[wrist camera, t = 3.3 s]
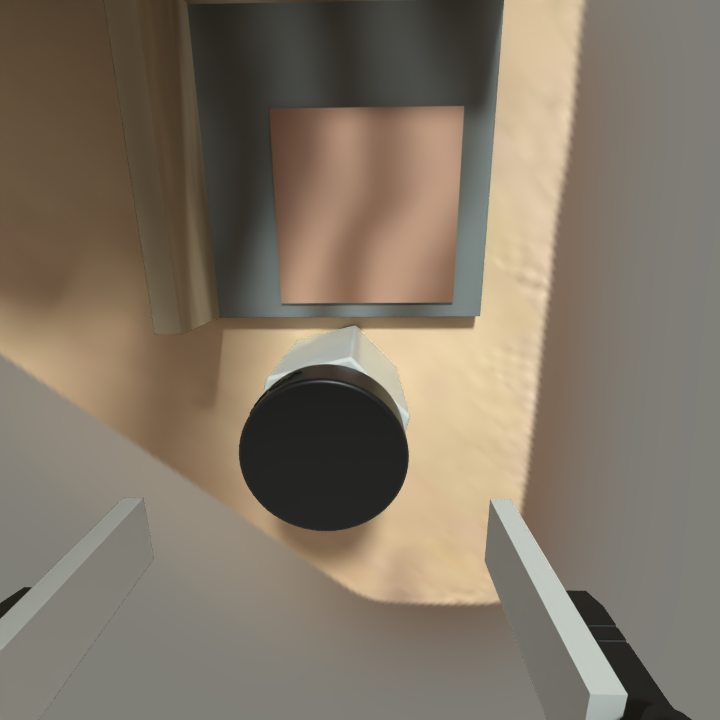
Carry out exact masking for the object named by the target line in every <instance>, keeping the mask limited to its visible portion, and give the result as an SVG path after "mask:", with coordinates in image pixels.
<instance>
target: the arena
mask: <svg viewBox="0 0 720 720" xmlns="http://www.w3.org/2000/svg"><path fill="white" fill-rule="evenodd" d="M104 6H105V13H106V19H107V26H108V32H109V39H110V45H111V52H112V58H113V65H114V71H115V78H116V85H117V91H118V98H119V104H120V111H121V117H122V124H123V130H124V137H125V143H126V150H127V157H128V163H129V170H130V176H131V183H132V189H133V196H134V202H135V209H136V215H137V222H138V229H139V235H140V242H141V248H142V255H143V261H144V268H145V274H146V281H147V287H148V294H149V300H150V307H151V314H152V320H153V327H154V333H155V334H183V333H185V332H188V331H190V330H192V329H195V328H197V327H199V326H201V325H204V324H206V323H208V322H211V321H213V320H215V319H218V318H220V317H410V316H480V309H481V296H482V283H483V270H484V257H485V244H486V231H487V218H488V205H489V191H490V178H491V165H492V152H493V139H494V126H495V113H496V100H497V87H498V74H499V61H500V48H501V35H502V21H503V8H504V0H104Z"/></svg>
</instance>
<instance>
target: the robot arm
mask: <svg viewBox="0 0 720 720" xmlns="http://www.w3.org/2000/svg"><path fill="white" fill-rule="evenodd" d="M153 559H154V557H153V551H152V545H151V540H150V534H149V528H148V523H147V516H146V511H145V506H144V500H143V498H123V499H122V500H121V501H120V502H119V503H118V504H117V505H116V506H115V507H114V508H113V509H112V510H111V511H110V512H109V513H108V514H107V515H106V516H105V517H104V518H103V519H101V520H100V522H98V523H97V524H96V525H95V526H94V528H92V529H91V530H90V531H89V532H88V533H87V534H86V535H85V536H84V537H83V538H82V539H81V540H80V541H79V542H78V543H77V544H76V545H75V546H74V547H73V548H72V549H71V550H70V551H69V552H68V553H67V554H66V555H65V556H64V557H63V558H62V559H61V560H60V561H59V562H58V563H57V564H56V565H55V566H54V567H53V568H52V569H51V570H50V571H49V572H48V573H47V574H46V575H45V576H44V577H43V578H42V579H41V580H39V581H38V582H37V583H36V584H35V585H34V586H33V587H31V588H30V587H28V588H27V587H26V588H25V587H24V588H23V589H21V590H19V591H18V592H16V593H15V594H14V595H12V596H10V597H9V598H7V599H6V600H4V601H3V602H1V603H0V720H39V719H40V718H41V717H42V715H43V714H44V712H45V711H46V710H47V708H48V707H49V705H50V704H51V702H52V701H53V700H54V698H55V697H56V695H57V694H58V693H59V691H60V690H61V688H62V687H63V686H64V684H65V683H66V681H67V680H68V678H69V677H70V676H71V674H72V673H73V672H74V670H75V669H76V667H77V666H78V664H79V663H80V662H81V660H82V659H83V657H84V656H85V655H86V653H87V652H88V650H89V649H90V647H91V646H92V644H93V643H94V642H95V641H96V639H97V638H98V636H99V635H100V633H101V632H102V631H103V629H104V628H105V626H106V625H107V624H108V622H109V621H110V619H111V618H112V617H113V615H114V614H115V612H116V611H117V610H118V608H119V607H120V605H121V604H122V603H123V601H124V599H125V598H126V597H127V596H128V594H129V593H130V591H131V590H132V588H133V587H134V586H135V584H136V583H137V581H138V580H139V579H140V577H141V576H142V574H143V573H144V572H145V570H146V569H147V567H148V566H149V564H150V563H151V562H152V560H153ZM485 563H486V565H487V568H488V571H489V573H490V576H491V578H492V581H493V583H494V586H495V588H496V591H497V594H498V596H499V599H500V601H501V604H502V606H503V609H504V612H505V614H506V616H507V619H508V622H509V624H510V627H511V629H512V632H513V635H514V637H515V640H516V642H517V645H518V647H519V650H520V652H521V655H522V658H523V660H524V663H525V665H526V668H527V670H528V673H529V675H530V678H531V680H532V683H533V686H534V688H535V691H536V693H537V696H538V698H539V701H540V703H541V706H542V709H543V711H544V714H545V716H546V719H547V720H691V719H690V718H689V717H687V716H686V715H685V714H683V713H681V712H679V711H677V710H675V709H674V708H673V707H672V706H671V705H670V703H669V702H668V701H667V699H666V698H665V696H664V695H663V693H662V692H661V690H660V689H659V687H658V686H657V684H656V683H655V682H654V680H653V679H652V677H651V676H650V674H649V673H648V671H647V670H646V668H645V667H644V665H643V664H642V662H641V661H640V659H639V658H638V657H637V655H636V654H635V652H634V651H633V649H632V648H631V646H630V645H629V644H628V643H627V642H626V639H625V637H624V636H623V635H622V633H621V632H620V630H619V629H618V628H616V624H615V623H614V621H613V620H612V618H611V617H610V616H609V614H608V612H607V611H606V610H605V608H604V607H603V606H602V605H601V604H600V603H599V602H598V601H597V600H595V599H594V598H593V597H592V596H591V595H590V594H589V593H588V592H586V591H565V589H564V588H563V586H562V584H561V582H560V581H559V579H558V577H557V576H556V574H555V572H554V571H553V569H552V567H551V566H550V564H549V562H548V561H547V559H546V557H545V556H544V554H543V552H542V551H541V549H540V547H539V546H538V544H537V542H536V541H535V539H534V537H533V536H532V534H531V532H530V531H529V529H528V527H527V526H526V524H525V522H524V521H523V519H522V517H521V516H520V514H519V512H518V511H517V509H516V507H515V506H514V504H513V502H512V501H511V499H490V507H489V518H488V529H487V540H486V551H485Z"/></svg>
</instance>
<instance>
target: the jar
mask: <svg viewBox="0 0 720 720" xmlns="http://www.w3.org/2000/svg"><path fill="white" fill-rule="evenodd" d="M409 419H410V414H409V411H408V407H407V403H406V400H405V396H404V392H403V389H402V385H401V381H400V378H399V374H398V370H397V367H396V366H395V365H394V364H393V363H392V362H391V361H390V360H389V359H388V358H387V357H386V356H385V355H384V354H383V352H382V351H381V350H380V349H379V348H378V347H377V346H376V345H375V344H374V343H373V342H372V341H371V340H370V339H369V338H368V337H367V336H366V335H365V334H364V333H363V332H362V331H361V330H360V329H359V328H358V327H357V326H350V327H346V328H342V329H338V330H334V331H330V332H326V333H322V334H318V335H314V336H309V337H305V338H301V339H298V340H297V341H296V342H295V343H294V345H293V346H292V347H291V348H290V350H289V351H288V352H287V353H286V355H285V356H284V357H283V359H282V360H281V361H280V362H279V364H278V365H277V366H276V367H275V369H274V370H273V371H272V372H271V374H270V375H269V376H268V377H267V379H266V383H265V387H264V392H263V395H262V396H261V397H260V398H259V400H258V401H257V402H256V404H255V405H254V407H253V409H252V410H251V412H250V415H249V417H248V419H247V421H246V423H245V425H244V428H243V430H242V434H241V438H240V444H239V460H240V466H241V470H242V474H243V477H244V479H245V482H246V484H247V485H248V487H249V489H250V491H251V492H252V494H253V495H254V496H255V498H256V499H257V500H258V501H259V502H260V503H261V504H262V506H263V507H265V508H266V509H267V510H268V511H269V512H271V513H272V514H273V515H275V516H276V517H278V518H280V519H281V520H283V521H285V522H287V523H290V524H292V525H295V526H298V527H301V528H305V529H310V530H317V531H336V530H343V529H348V528H352V527H355V526H358V525H360V524H363V523H365V522H367V521H369V520H371V519H372V518H374V517H375V516H377V515H378V514H380V513H381V512H382V511H384V510H385V509H386V508H387V507H388V506H389V505H390V504H391V502H392V501H393V500H394V499H395V497H396V496H397V494H398V493H399V491H400V489H401V487H402V485H403V483H404V480H405V477H406V474H407V469H408V462H409V451H408V444H407V439H406V434H405V431H406V428H407V425H408V422H409Z"/></svg>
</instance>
